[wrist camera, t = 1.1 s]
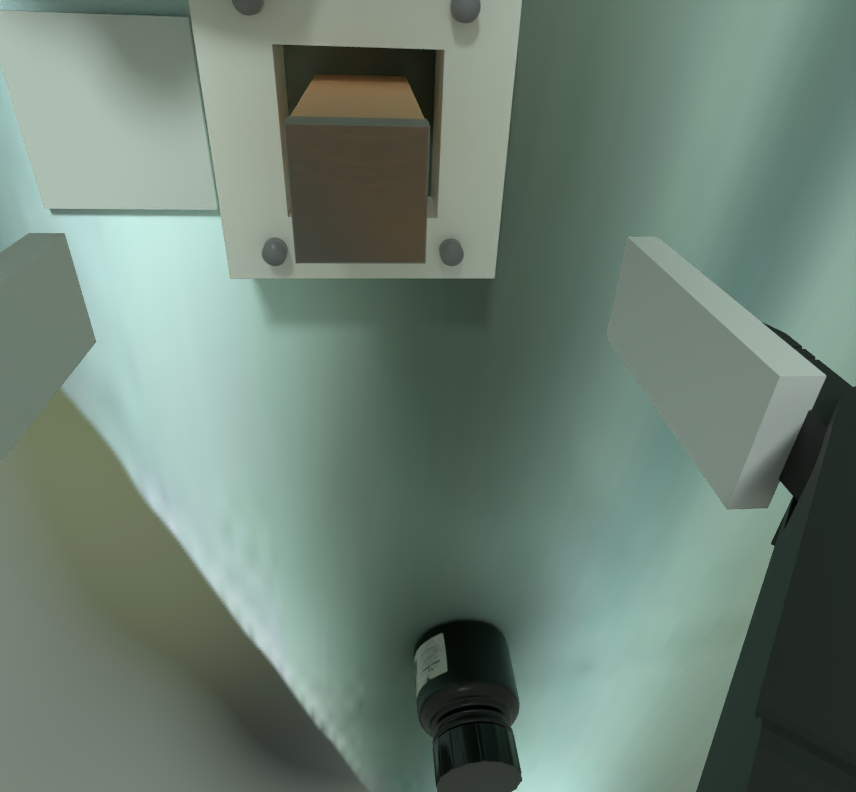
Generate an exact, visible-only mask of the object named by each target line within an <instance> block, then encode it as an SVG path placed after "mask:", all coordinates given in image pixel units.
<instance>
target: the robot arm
mask: <svg viewBox="0 0 856 792" xmlns="http://www.w3.org/2000/svg"><path fill="white" fill-rule="evenodd" d="M606 338H607V339H608V341H609V342H610V344H611V345H612V347H613V348H614V349H615V351H616V352H617V354H618V355H619V357H620V358H621V359H622V361H623V362H624V364H625V365H626V367H627V368H628V369H629V371H630V372H631V374H632V375H633V376H634V378H635V379H636V381H637V382H638V384H639V385H640V386H641V388H642V389H643V391H644V392H645V394H646V395H647V396H648V398H649V399H650V401H651V402H652V403H653V405H654V406H655V408H656V409H657V411H658V412H659V413H660V415H661V416H662V418H663V419H664V421H665V422H666V423H667V425H668V426H669V428H670V429H671V431H672V432H673V433H674V435H675V436H676V438H677V439H678V440H679V442H680V443H681V445H682V446H683V448H684V449H685V450H686V452H687V453H688V455H689V456H690V458H691V459H692V460H693V462H694V463H695V465H696V466H697V467H698V469H699V470H700V472H701V473H702V475H703V476H704V477H705V479H706V480H707V482H708V483H709V485H710V486H711V487H712V489H713V490H714V492H715V493H716V495H717V496H718V497H719V499H720V500H721V502H722V503H723V504H724V506H725V507H726V509H753V508H768V506H769V504H770V502H771V500H772V497H773V495H774V493H775V491H776V488H777V486H778V484H779V482H780V481H781V482H782V483H783V485H784V486H785V487H786V488H787V489H788V490H789V492H790V493H791V494H792V495H793V498H792V500H791V502H790V504H789V506H788V508H787V510H786V513H785V515H784V517H783V519H782V521H781V523H780V525H779V527H778V530H777V532H776V534H775V536H774V538H773V540H772V542H771V544H772V545H774V546H775V547H774V550H773V553H772V556H771V559H770V562H769V566H768V569H767V572H766V575H765V578H764V581H763V584H762V588H761V591H760V594H759V597H758V600H757V603H756V606H755V609H754V613H753V616H752V619H751V622H750V625H749V628H748V631H747V634H746V638H745V641H744V644H743V647H742V650H741V653H740V656H739V659H738V663H737V666H736V669H735V672H734V675H733V678H732V681H731V684H730V688H729V691H728V694H727V697H726V700H725V703H724V706H723V709H722V713H721V716H720V719H719V722H718V725H717V728H716V731H715V735H714V738H713V741H712V744H711V747H710V750H709V753H708V756H707V760H706V763H705V766H704V769H703V772H702V775H701V778H700V781H699V785H698V788H697V791H696V792H856V387H852V386H851V385H850V384H848V383H847V382H846V381H845V380H843V379H842V378H841V377H840V376H838V375H837V374H836V373H835V372H833V371H832V370H831V369H830V368H828V367H827V366H826V365H825V364H823V363H822V362H821V361H820V360H815V356H813V355H812V354H811V353H810V352H808V351H807V350H806V349H802V346H801V345H800V344H798V343H797V342H796V341H795V340H793V339H792V338H791V337H790V336H788V335H787V334H786V333H784V332H782V331H780V330H777V329H775V328H773V327H771V326H769V325H767V324H765V323H763V322H761V321H759V320H758V319H757V318H756V317H755V316H753V315H752V314H751V313H750V312H748V311H747V310H746V309H745V308H744V307H742V306H741V305H740V304H739V303H738V302H736V301H735V300H734V299H733V298H731V297H730V296H729V295H728V294H727V293H725V292H724V291H723V290H722V289H720V288H719V287H718V286H717V285H716V284H714V283H713V282H712V281H711V280H710V279H708V278H707V277H706V276H705V275H703V274H702V273H701V272H700V271H699V270H697V269H696V268H695V267H694V266H692V265H691V264H690V263H689V262H688V261H686V260H685V259H684V258H683V257H682V256H680V255H679V254H678V253H677V252H675V251H674V250H673V249H672V248H671V247H669V246H668V245H667V244H666V243H664V242H663V241H662V240H661V239H660V238H658V237H627V241H626V246H625V251H624V255H623V260H622V265H621V269H620V274H619V279H618V284H617V288H616V293H615V298H614V302H613V307H612V312H611V317H610V321H609V326H608V331H607V335H606ZM95 343H96V339H95V336H94V333H93V329H92V326H91V322H90V319H89V315H88V312H87V309H86V305H85V302H84V298H83V295H82V291H81V288H80V285H79V281H78V278H77V274H76V271H75V267H74V264H73V260H72V257H71V254H70V250H69V247H68V243H67V240H66V236H65V233H28V234H27V235H25V236H24V237H23V238H21V239H20V240H18V241H17V242H15V243H14V244H12V245H11V246H10V247H8V248H7V249H5V250H4V251H2V252H1V253H0V462H1V461H2V460H3V459H4V458H5V456H6V455H7V454H8V452H9V451H10V450H11V449H12V447H13V446H14V445H15V444H16V442H17V441H18V440H19V438H20V437H21V436H22V435H23V434H24V432H25V431H26V430H27V429H28V427H29V426H30V425H31V423H32V422H33V421H34V420H35V418H36V417H37V416H38V415H39V413H40V412H41V411H42V410H43V408H44V407H45V406H46V405H47V403H48V402H49V401H50V400H51V398H52V397H53V396H54V394H55V393H56V392H57V391H58V389H59V388H60V387H61V386H62V384H63V383H64V382H65V381H66V379H67V378H68V377H69V376H70V374H71V373H72V372H73V370H74V369H75V368H76V367H77V365H78V364H79V363H80V362H81V360H82V359H83V358H84V357H85V355H86V354H87V353H88V352H89V350H90V349H91V348H92V347H93V345H94V344H95Z"/></svg>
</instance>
